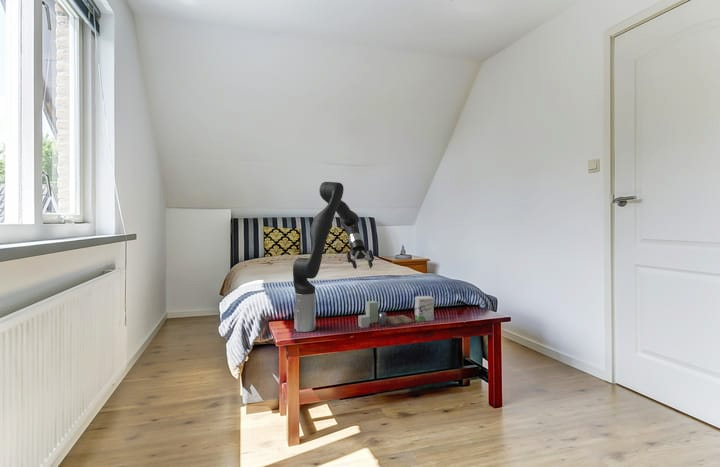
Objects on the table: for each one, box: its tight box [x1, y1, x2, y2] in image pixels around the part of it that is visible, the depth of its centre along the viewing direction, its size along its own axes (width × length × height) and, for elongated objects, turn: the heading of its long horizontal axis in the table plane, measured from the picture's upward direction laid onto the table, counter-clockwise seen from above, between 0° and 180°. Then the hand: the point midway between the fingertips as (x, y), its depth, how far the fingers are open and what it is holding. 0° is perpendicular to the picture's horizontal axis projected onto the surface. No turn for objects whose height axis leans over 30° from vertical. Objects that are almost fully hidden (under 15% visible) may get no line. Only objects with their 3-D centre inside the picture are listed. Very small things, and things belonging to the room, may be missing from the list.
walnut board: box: [386, 314, 416, 326], centre depth 197 cm, size 12×12×1 cm
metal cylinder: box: [378, 311, 387, 328], centre depth 189 cm, size 4×4×6 cm
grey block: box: [357, 314, 370, 329], centre depth 187 cm, size 4×4×5 cm
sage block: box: [365, 300, 379, 324], centre depth 195 cm, size 5×5×10 cm
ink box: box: [414, 295, 435, 322], centre depth 199 cm, size 8×5×12 cm, turn 107°
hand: (363, 267), depth 205 cm, fingers open, 8 cm apart
